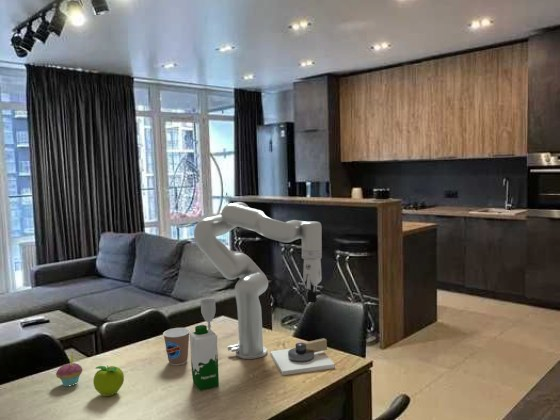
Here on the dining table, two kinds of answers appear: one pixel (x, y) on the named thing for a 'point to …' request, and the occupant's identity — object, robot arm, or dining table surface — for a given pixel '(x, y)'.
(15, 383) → the dining table surface
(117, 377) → the fruit
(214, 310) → the chalice
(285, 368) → the base plate
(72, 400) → the dining table surface
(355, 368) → the dining table surface
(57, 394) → the dining table surface
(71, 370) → the cupcake
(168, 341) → the coffee cup
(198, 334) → the milk carton
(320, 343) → the cam dial
